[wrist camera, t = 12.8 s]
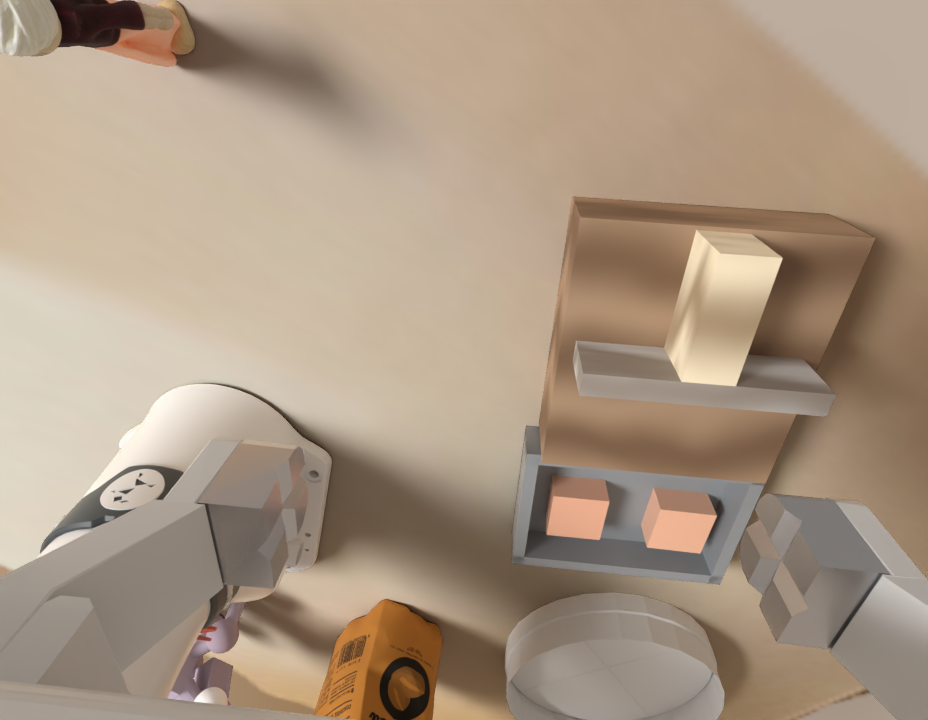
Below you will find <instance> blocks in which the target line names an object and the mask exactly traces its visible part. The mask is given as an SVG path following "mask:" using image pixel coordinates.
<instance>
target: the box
mask: <svg viewBox="0 0 928 720" xmlns="http://www.w3.org/2000/svg"><path fill="white" fill-rule="evenodd" d="M552 475H557V476H568V477H578V478H589V479H600V480H605V482H606V487H607V492H608V496H609V501H610V502H609V506H608V510H607V513H606V517H605V521H604V525H603V529H602V533H601V537H600V540H594V539H584V538H573V537H563V536H553V535H547V534H546V519H545V511H546V505H547V499H548V493H549V488H550V482H551V476H552ZM764 485H765V484H763V483H753V482H742V481H731V480H720V479H709V478H698V477H687V476H676V475H665V474H654V473H643V472H633V471H622V470H611V469H600V468H589V467H578V466H567V465H556V464H545V463H542V459H541V444H540V429H539V427H532V426H526V430H525V438H524V445H523V453H522V460H521V468H520V475H519V483H518V490H517V498H516V505H515V513H514V520H513V528H512V564H521V565H530V566H540V567H550V568H560V569H570V570H580V571H590V572H600V573H610V574H620V575H630V576H640V577H649V578H659V579H669V580H679V581H689V582H699V583H709V584H719V585H720V583H721V581H722V579H723V576H724V574H725V572H726V570H727V568H728V565H729V563H730V561H731V559H732V556H733V554H734V552H735V550H736V547H737V545H738V543H739V541H740V539H741V536H742V534H743V532H744V530H745V527H746V525H747V523H748V521H749V519H750V516H751V514H752V512H753V510H754V507H755V505H756V503H757V501H758V498H759V496H760V494H761V492H762V490H763V487H764ZM653 488H663V489H672V490H681V491H689V492H698V493H707V494H708V496H709V498H710V501H711V503H712V505H713V508H714V510H715V512H716V514H717V517H716V519H715V522H714V524H713V526H712V528H711V531H710V533H709V535H708V537H707V540H706V542H705V544H704V547H703V549H702V551H701V553H700V554H699V553H690V552H682V551H673V550H665V549H656V548H647V546H646V542H645V539H644V535H643V531H642V527H641V523H642V520H643V517H644V514H645V511H646V508H647V505H648V502H649V500H650V497H651V494H652V491H653Z"/></svg>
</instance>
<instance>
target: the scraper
mask: <svg viewBox="0 0 928 720" xmlns="http://www.w3.org/2000/svg"><path fill="white" fill-rule="evenodd" d="M782 259H783V258H782V257H781V256H780V255H778V254H777V253H776V252H774V251H773V250H772V249H770V248H769V247H768V246H767V245H765V244H764V243H763V242H761V241H760V240H759V239H757V238H756V237H755V236H753V235H752V234H746V233H731V232H717V231H703V230H696V233H695V237H694V240H693V244H692V248H691V251H690V255H689V259H688V262H687V266H686V270H685V273H684V277H683V281H682V284H681V288H680V292H679V295H678V299H677V303H676V306H675V310H674V314H673V317H672V321H671V325H670V328H669V332H668V336H667V339H666V343H665V347H664V348H661V347H648V346H636V345H623V344H611V343H598V342H586V341H576V345H575V350H574V356H573V366H574V371H575V376H576V382H577V387H578V392H579V396H590V397H602V398H613V399H625V400H637V401H649V402H660V403H672V404H684V405H696V406H707V407H719V408H731V409H742V410H754V411H766V412H778V413H789V414H801V415H813V416H825V417H826V416H827V414H828V412H829V410H830V408H831V406H832V404H833V402H834V400H835V398H836V396H837V394H836V393H835V392H834V391H833V390H832V389H831V388H830V387H829V386H828V385H827V384H826V383H825V382H824V381H823V380H822V379H821V377H820V376H819V375H818V374H817V373H816V372H815V371H814V370H813V369H812V368H811V367H810V366H809V365H808V364H807V363H806V362H805V361H804V359H797V358H785V357H773V356H760V355H748V352H749V349H750V346H751V344H752V341H753V338H754V336H755V333H756V330H757V327H758V325H759V322H760V319H761V316H762V314H763V311H764V308H765V305H766V303H767V300H768V297H769V295H770V292H771V289H772V286H773V284H774V281H775V278H776V275H777V273H778V270H779V267H780V264H781V262H782Z"/></svg>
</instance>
